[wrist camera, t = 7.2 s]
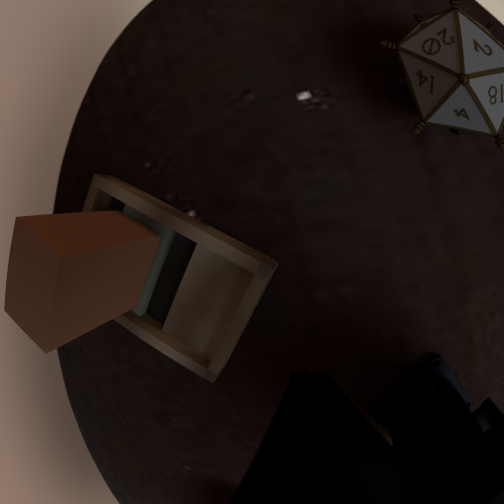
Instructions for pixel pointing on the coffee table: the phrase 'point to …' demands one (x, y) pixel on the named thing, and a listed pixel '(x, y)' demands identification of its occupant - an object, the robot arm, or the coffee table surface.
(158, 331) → the box
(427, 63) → the game die
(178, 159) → the coffee table surface
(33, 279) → the terracotta block
